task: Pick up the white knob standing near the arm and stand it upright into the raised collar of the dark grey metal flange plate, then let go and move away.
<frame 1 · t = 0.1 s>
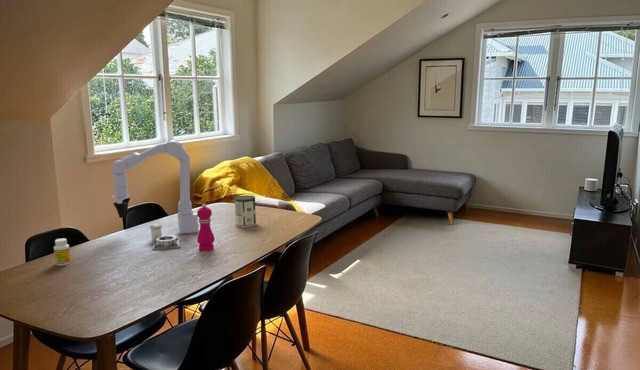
hand: (123, 215, 223), 10 cm above the table, tool pointing down, fingers open, 7 cm apart
flange: (166, 245, 212), on the table
pepper mill: (206, 249, 207), on the table
coffee can: (245, 224, 244), on the table
white knob: (156, 240, 219), on the table
supplement bottle: (63, 264, 190), on the table
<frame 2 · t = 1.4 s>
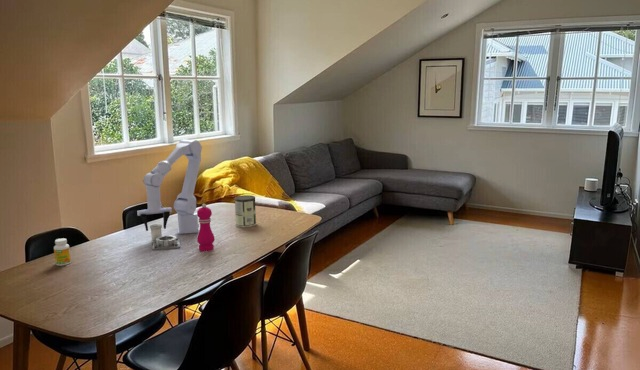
hand: (155, 229, 218), 5 cm above the table, tool pointing down, fingers open, 7 cm apart
nothing on the table moved.
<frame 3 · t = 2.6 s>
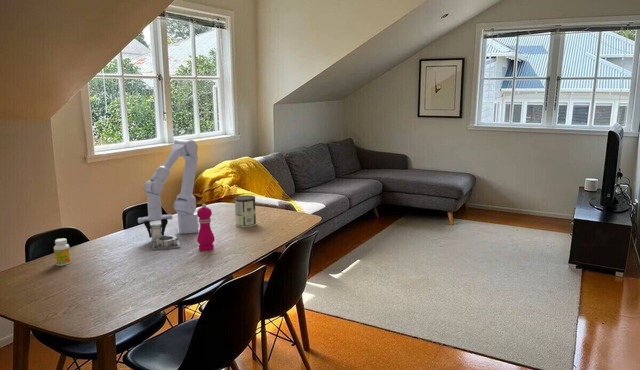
hand: (156, 236, 219), 2 cm above the table, tool pointing down, fingers closed on white knob, 5 cm apart
white knob: (156, 240, 219), on the table, touching gripper
everything else where it was.
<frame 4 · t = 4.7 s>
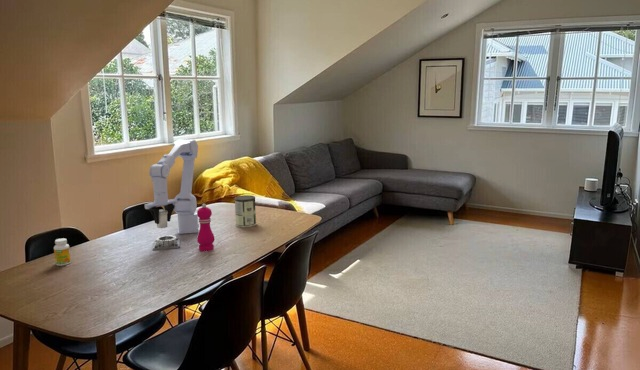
hand: (162, 222, 212), 10 cm above the table, tool pointing down, fingers closed on white knob, 5 cm apart
white knob: (162, 226, 212), point 8 cm above the table, touching gripper
everything else where it was.
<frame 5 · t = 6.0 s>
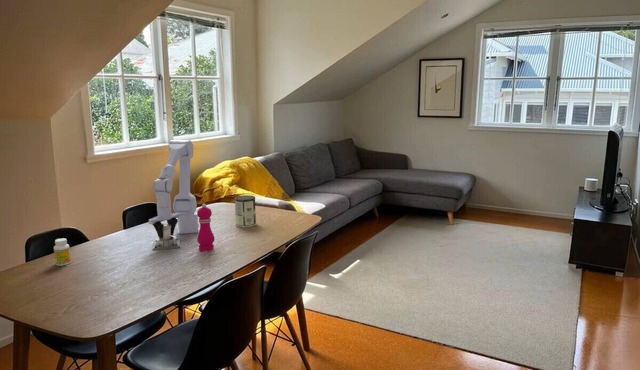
hand: (166, 236, 211), 4 cm above the table, tool pointing down, fingers closed on white knob, 5 cm apart
white knob: (165, 240, 212), point 2 cm above the table, touching gripper
everything else where it was.
when the fingers open (4 cm above the table, at t = 6.9 s): white knob stays where it is, resting on flange.
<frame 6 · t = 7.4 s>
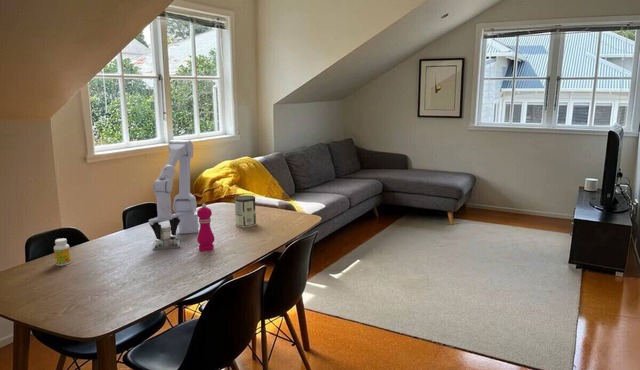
hand: (166, 237, 211), 4 cm above the table, tool pointing down, fingers open, 7 cm apart
white knob: (165, 243, 212), point 1 cm above the table, touching flange
everything else where it was.
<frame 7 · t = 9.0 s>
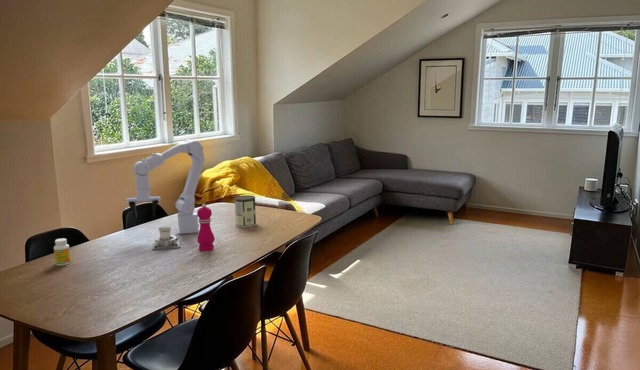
hand: (144, 217, 220), 10 cm above the table, tool pointing down, fingers open, 7 cm apart
nothing on the table moved.
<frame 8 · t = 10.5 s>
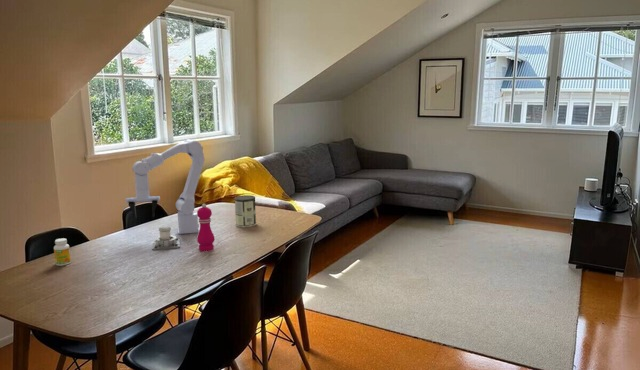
hand: (144, 217, 221), 10 cm above the table, tool pointing down, fingers open, 7 cm apart
nothing on the table moved.
at the end: white knob 0.4 cm off-centre on the flange, point 0.8 cm above the flange's base; white knob tilted 0°; the gripper is holding nothing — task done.
